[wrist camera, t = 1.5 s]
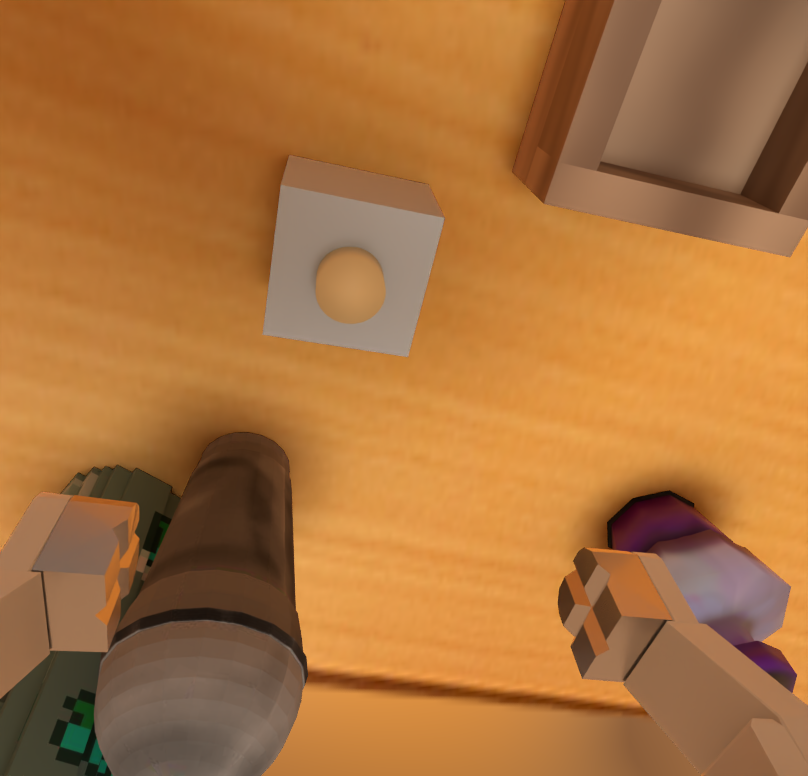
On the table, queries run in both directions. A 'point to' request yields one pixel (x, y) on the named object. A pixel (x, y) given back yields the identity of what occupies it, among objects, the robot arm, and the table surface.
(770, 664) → the potion bottle
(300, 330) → the lid
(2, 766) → the can
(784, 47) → the box
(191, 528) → the beverage cup
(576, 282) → the table surface
